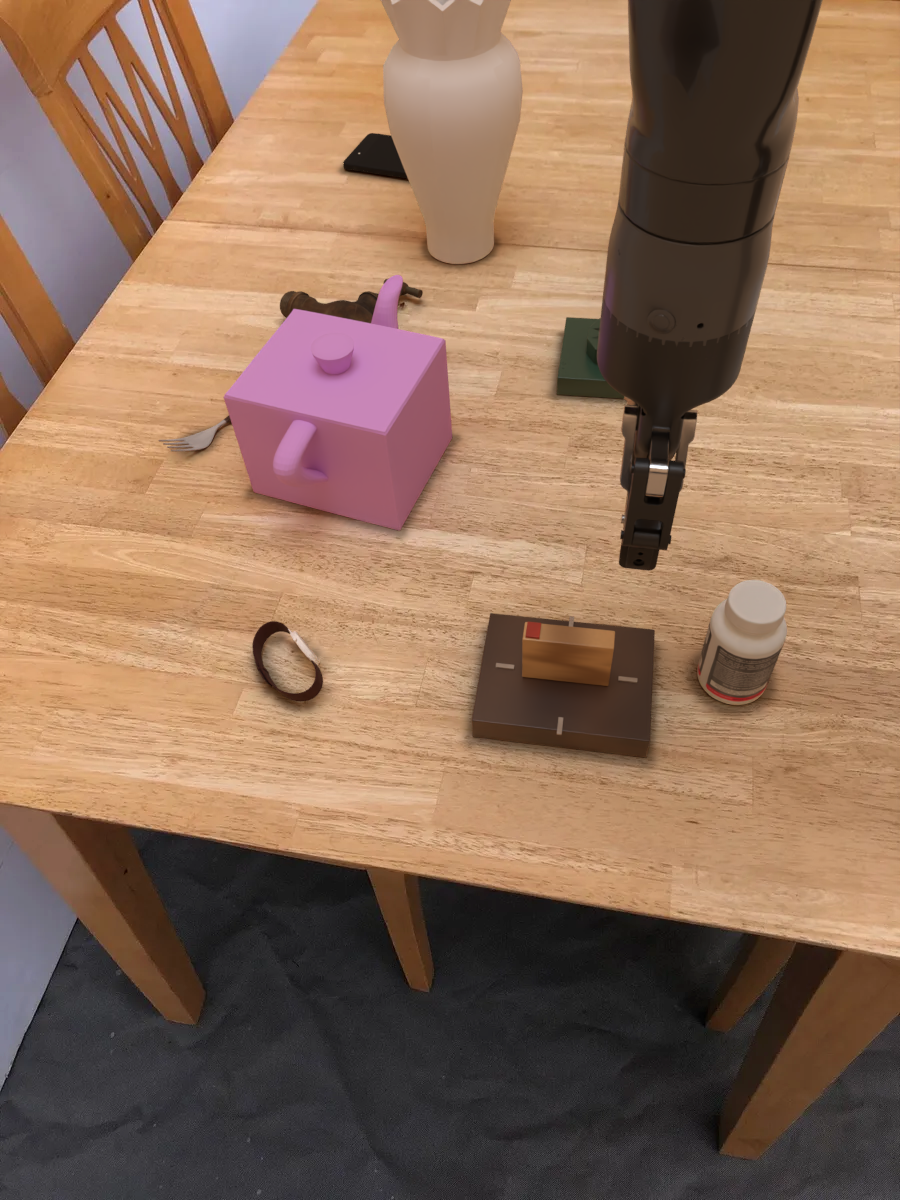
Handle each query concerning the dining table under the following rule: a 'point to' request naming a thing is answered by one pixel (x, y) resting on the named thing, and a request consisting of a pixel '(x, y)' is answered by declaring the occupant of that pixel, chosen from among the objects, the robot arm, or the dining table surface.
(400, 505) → the teapot
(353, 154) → the cell phone
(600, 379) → the switch box
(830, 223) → the dining table surface
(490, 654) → the panel
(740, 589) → the pill bottle
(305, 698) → the watch
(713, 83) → the robot arm
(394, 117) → the vase
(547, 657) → the handle
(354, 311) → the faucet
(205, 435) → the fork
